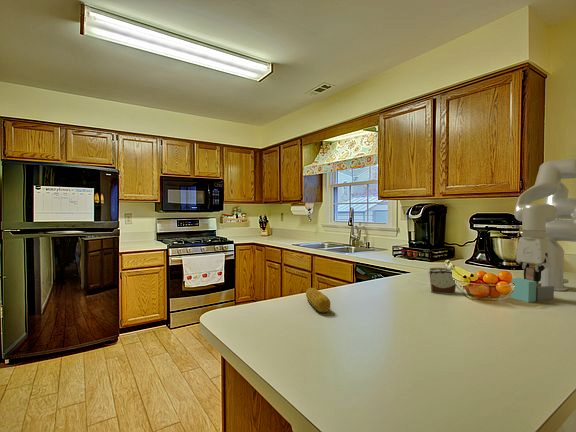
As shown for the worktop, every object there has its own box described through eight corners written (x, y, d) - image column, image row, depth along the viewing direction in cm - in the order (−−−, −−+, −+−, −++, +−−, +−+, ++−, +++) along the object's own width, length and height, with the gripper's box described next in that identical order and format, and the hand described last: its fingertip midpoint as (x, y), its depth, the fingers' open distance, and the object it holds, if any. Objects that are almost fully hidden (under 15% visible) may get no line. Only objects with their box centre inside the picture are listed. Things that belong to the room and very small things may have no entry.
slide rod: (530, 289, 131) (531, 267, 131) (538, 290, 128) (539, 268, 128) (518, 290, 129) (518, 268, 129) (525, 292, 126) (526, 269, 126)
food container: (452, 290, 142) (453, 267, 141) (458, 294, 136) (459, 270, 135) (423, 289, 143) (424, 267, 143) (428, 292, 137) (428, 269, 136)
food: (332, 314, 108) (333, 297, 108) (316, 315, 107) (317, 297, 106) (314, 297, 128) (315, 282, 128) (301, 298, 127) (301, 283, 127)
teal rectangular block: (518, 296, 132) (518, 277, 132) (535, 301, 125) (536, 281, 125) (510, 297, 131) (511, 278, 131) (528, 302, 124) (528, 282, 124)
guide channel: (538, 295, 135) (538, 283, 135) (553, 299, 129) (554, 286, 129) (523, 296, 132) (523, 284, 132) (537, 300, 127) (538, 287, 126)
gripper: (507, 233, 136) (505, 276, 136) (548, 236, 120) (547, 285, 120) (520, 233, 138) (518, 275, 138) (562, 236, 122) (561, 284, 123)
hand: (532, 279), depth 129 cm, fingers closed on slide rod, 3 cm apart
